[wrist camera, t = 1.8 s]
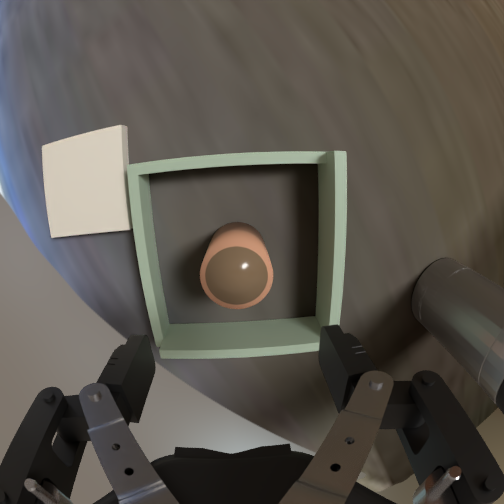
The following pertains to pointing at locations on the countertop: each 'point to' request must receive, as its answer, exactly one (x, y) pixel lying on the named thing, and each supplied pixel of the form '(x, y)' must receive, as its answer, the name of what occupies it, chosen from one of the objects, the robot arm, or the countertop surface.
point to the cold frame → (248, 332)
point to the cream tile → (88, 183)
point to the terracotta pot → (236, 267)
